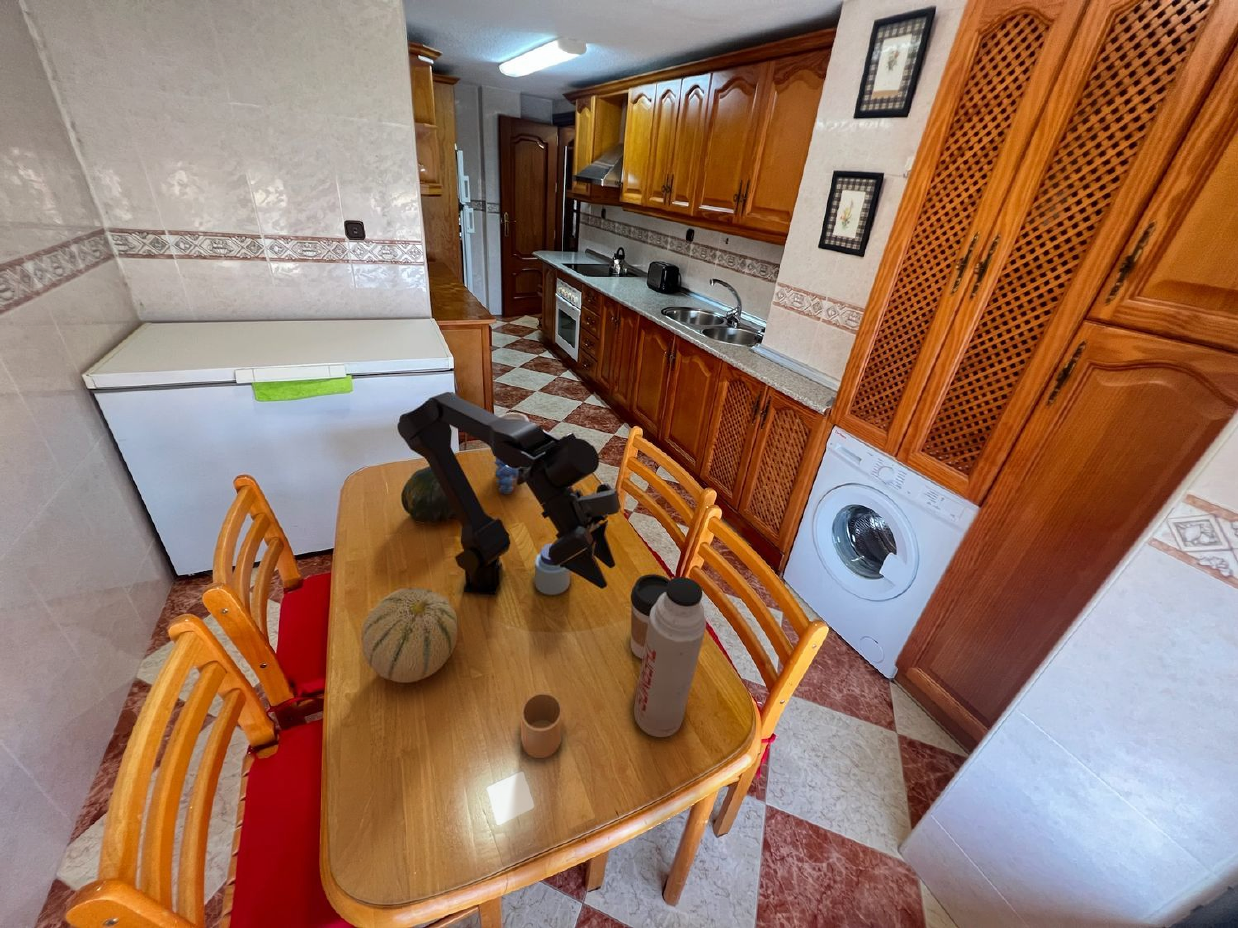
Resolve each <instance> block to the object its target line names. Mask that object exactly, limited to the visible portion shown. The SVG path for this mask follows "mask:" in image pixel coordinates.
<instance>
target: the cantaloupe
mask: <svg viewBox="0 0 1238 928" xmlns="http://www.w3.org/2000/svg"><path fill="white" fill-rule="evenodd" d="M458 627H459V626H458V617H457V614H456V612H455V611H454V609H453V607H452V606H451V603H450V602H449V600H448V599H447V598H446V597H445V596H443V595H441V594H440V593H438V592H435V591H433V590H430V589H428V588H425V587H417V586H416V587H414V586H413V587H406V588H400V589H398V590H395V591H393V592H391V593H390V594H387V595H386V596H385V597H383V599H381V600H380V601H379V602H378V604H377V605H376V606H375V607H374V608H372V609H371V610H370V611H369V613H368V615H367V617H366V618H365V620H364V622H363V624H362V628H361V634H360V635H361V636H360V639H361V646H362V648H361V649H362V655H363V656H364V659H365V661H366V664H367V665H368V666H369V667H370V668H371V669H372V670H373V671H374V672H375V673H376V674H377V675H378V676H379V677H381V678H384V679H386V680H390V681H393V682H397V683H413V682H418V681H420V680H423V679H425V678H428V677H430V676H431V675H433V674H435V673H436V672H437V671H438V670H440V669H441V668H442V667H443V666H444V664H445V663H446V662H447V660H448V659H450V656H451V655H452V654H453V651H454V649H455V647H456V644H457V640H458V629H459V628H458Z"/></svg>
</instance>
